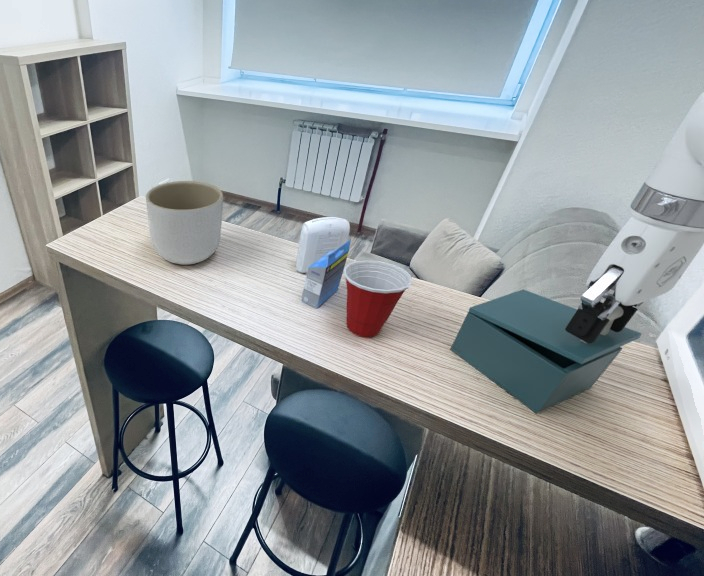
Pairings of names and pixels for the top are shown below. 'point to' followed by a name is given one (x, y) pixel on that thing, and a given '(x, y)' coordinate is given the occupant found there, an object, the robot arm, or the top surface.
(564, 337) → the lid
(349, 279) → the plastic cup
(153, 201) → the planter
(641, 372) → the top surface
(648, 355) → the top surface
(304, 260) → the photo printer
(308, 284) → the label tape box
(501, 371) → the chest
